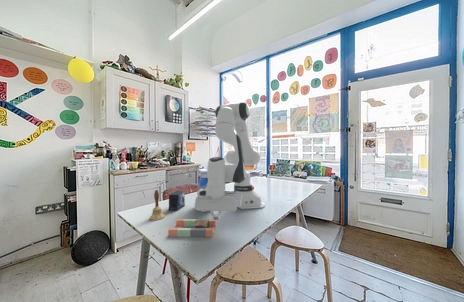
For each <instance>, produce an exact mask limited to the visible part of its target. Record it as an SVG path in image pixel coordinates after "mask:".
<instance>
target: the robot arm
mask: <svg viewBox="0 0 464 302" xmlns="http://www.w3.org/2000/svg"><path fill="white" fill-rule="evenodd" d="M214 113H215V118H216V121H215V129H214V131H215V132H214V133H215V136H216V138H217V139H218V140H220V141H221V142H224V143H226V144H229V145H230V146H232V147H233V149H231V150H228V151H227V152H226V155H225V159H224V157H222V156H214V157H210V158H209V159H208V162H207V167H206V169H207V177H208V183H207V187H205V188H202V189H200V190H199V191H198V190H197V192H196V193H197V194H196V195H197V196H196V197H195V200H194V210H195V211H198V212H201V211H207V212H210V215H211V216H212V219H213V220H216V221H219V220H220V215H221V214H222V212H236V211H237V210H238V208H239V209H242V210H246V209H247V210H249V209H263V208H265V205H266V204H265V202H264V201H263V200H262V197H261V195H260V194H259V193H257V191H255V186H253V184H251V174H250V172H249V171H248V170H247V169H246V166H256V165H258V164H259V163H260V160H261V155H260V153H259V151H257V150H256V149H255V148H254V147H253V145H252V143H251V142H250V139H249V132H248V124H247V119H249V116H250V113H251V109H250V105H249V104H248V103H247V102H246V101H239V102H238V101H237V102H230V103H227V104H221V105H219V106H217V107H216V108H215V112H214ZM225 160H226V162H227V163H226V162H225ZM227 182H230V183H234V184H233V191H230V190H226V183H227ZM215 212H217V214H218V215H217V214H215Z"/></svg>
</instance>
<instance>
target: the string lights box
mask: <svg viewBox="0 0 464 302" xmlns="http://www.w3.org/2000/svg"><path fill="white" fill-rule="evenodd" d="M207 183H208V177H207V168H198V169H197V192H198V191H199V190H200V189H202V188H205V187H207ZM200 212H201V213H206V212H208V211H200Z"/></svg>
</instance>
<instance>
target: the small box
mask: <svg viewBox="0 0 464 302" xmlns="http://www.w3.org/2000/svg"><path fill="white" fill-rule="evenodd" d="M185 194H186V191H184V190H175V191H173V192H171V193H169V194H168V211H174V212H177V211H180V210H181V209H182V208H184V207H185V204H186V203H185V200H186V199H185V198H186V196H185Z"/></svg>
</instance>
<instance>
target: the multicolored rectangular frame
mask: <svg viewBox="0 0 464 302" xmlns="http://www.w3.org/2000/svg"><path fill="white" fill-rule="evenodd" d="M198 220H208V228H195V224H196V223H197V221H198ZM216 221H217V220H213V218H212V219H208V218H203V219H202V218H201V219H200V218H196V219H195V218H192V219H191V218H177V219H176V221H175V226H174V227H170V228H168V231H167V232H168V233H167V234H168V237H176V238H177V237H182V238H184V237H187V238H188V237H191V238H193V237H194V238H213V235H214V232H215V228H216V224H217V223H216Z"/></svg>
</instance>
